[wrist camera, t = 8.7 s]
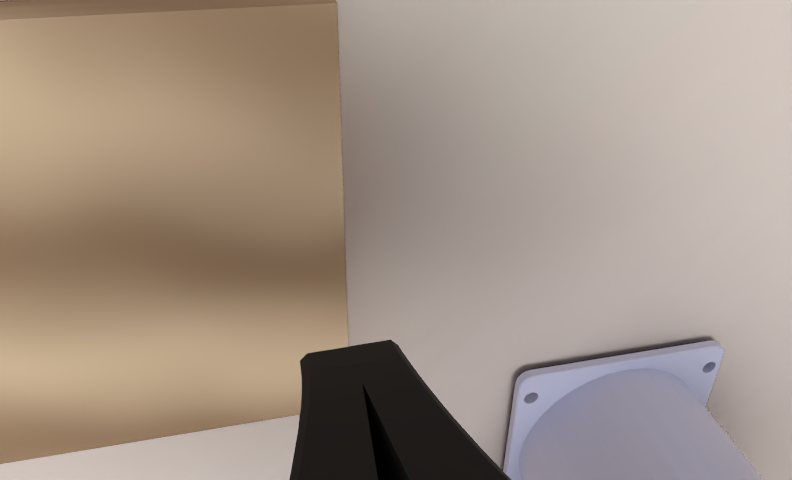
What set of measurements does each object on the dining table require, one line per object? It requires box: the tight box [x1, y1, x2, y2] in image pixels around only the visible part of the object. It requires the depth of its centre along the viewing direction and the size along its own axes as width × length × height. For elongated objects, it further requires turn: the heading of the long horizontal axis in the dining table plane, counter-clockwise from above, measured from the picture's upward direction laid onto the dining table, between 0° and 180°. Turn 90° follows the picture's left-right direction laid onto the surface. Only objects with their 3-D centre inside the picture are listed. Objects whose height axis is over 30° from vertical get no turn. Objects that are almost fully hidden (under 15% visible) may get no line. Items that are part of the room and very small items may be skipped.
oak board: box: [0, 0, 348, 464], centre depth 17 cm, size 12×15×2 cm
